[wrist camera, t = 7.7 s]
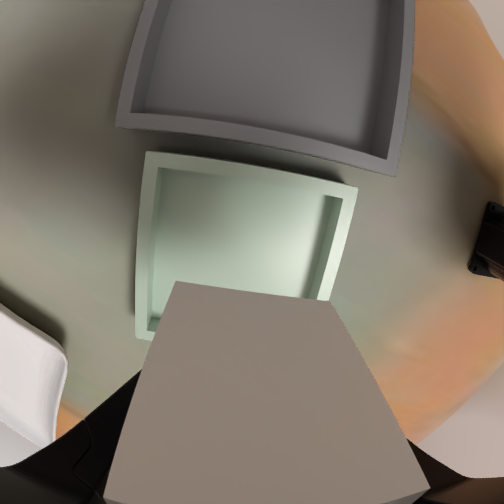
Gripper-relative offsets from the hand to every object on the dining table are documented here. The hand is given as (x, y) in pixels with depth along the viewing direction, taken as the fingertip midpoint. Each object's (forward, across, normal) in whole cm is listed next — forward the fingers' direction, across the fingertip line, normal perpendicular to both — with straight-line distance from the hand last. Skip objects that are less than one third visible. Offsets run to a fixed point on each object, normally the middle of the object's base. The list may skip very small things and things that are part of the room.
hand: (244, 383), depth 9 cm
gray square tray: (+11, 0, -15) cm, 19 cm away
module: (+2, 0, 0) cm, 2 cm away
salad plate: (+12, +25, +15) cm, 32 cm away
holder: (+11, 0, 0) cm, 11 cm away
